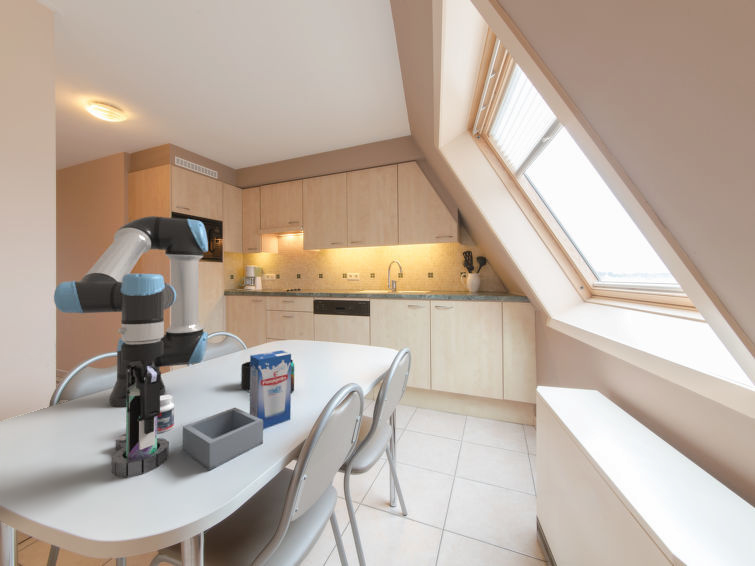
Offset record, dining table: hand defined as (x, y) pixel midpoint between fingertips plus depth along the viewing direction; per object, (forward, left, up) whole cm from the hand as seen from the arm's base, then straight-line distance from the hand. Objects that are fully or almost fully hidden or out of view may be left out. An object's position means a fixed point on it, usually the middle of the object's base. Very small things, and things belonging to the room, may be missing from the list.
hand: (141, 441), depth 65 cm
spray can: (0, 0, -5) cm, 5 cm away
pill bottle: (-14, +9, -5) cm, 17 cm away
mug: (-22, +43, -5) cm, 49 cm away
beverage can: (-8, +46, -5) cm, 47 cm away
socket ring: (-4, 0, -5) cm, 6 cm away
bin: (+9, +14, -5) cm, 17 cm away
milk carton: (+7, +29, -5) cm, 30 cm away
